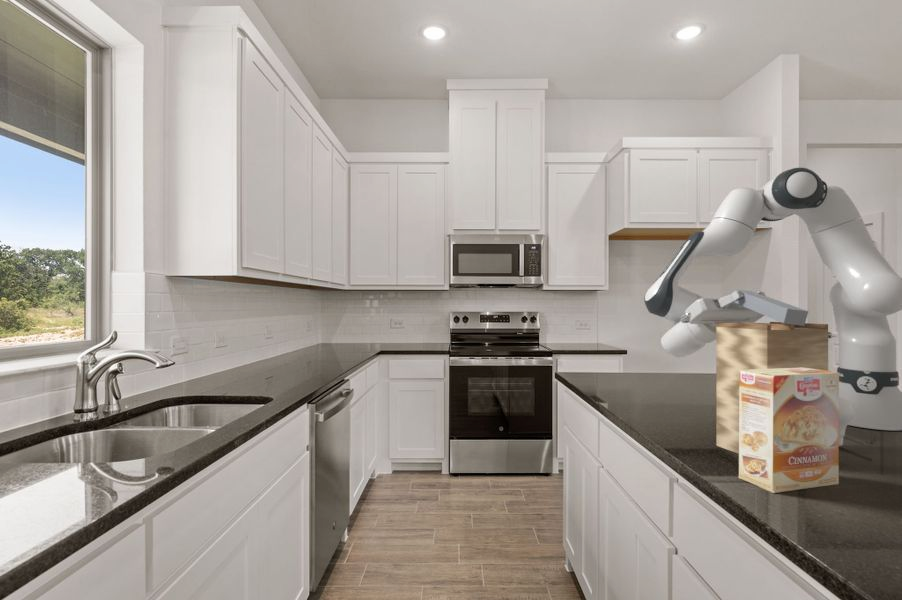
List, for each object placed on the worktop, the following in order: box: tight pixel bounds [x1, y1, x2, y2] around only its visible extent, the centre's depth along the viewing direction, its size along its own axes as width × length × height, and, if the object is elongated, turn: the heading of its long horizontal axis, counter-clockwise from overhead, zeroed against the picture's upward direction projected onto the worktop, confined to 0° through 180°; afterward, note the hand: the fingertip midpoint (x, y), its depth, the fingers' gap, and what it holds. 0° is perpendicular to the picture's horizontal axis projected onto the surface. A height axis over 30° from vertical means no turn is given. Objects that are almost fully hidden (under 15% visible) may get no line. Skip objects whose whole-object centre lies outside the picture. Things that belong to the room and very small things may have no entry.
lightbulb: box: [839, 397, 854, 447], centre depth 100 cm, size 6×6×11 cm
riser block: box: [715, 321, 829, 455], centre depth 98 cm, size 12×16×27 cm
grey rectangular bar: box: [733, 288, 809, 326], centre depth 101 cm, size 20×4×3 cm, turn 176°
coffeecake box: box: [738, 367, 840, 494], centre depth 81 cm, size 15×7×20 cm, turn 105°
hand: (751, 293), depth 107 cm, fingers closed on grey rectangular bar, 5 cm apart
